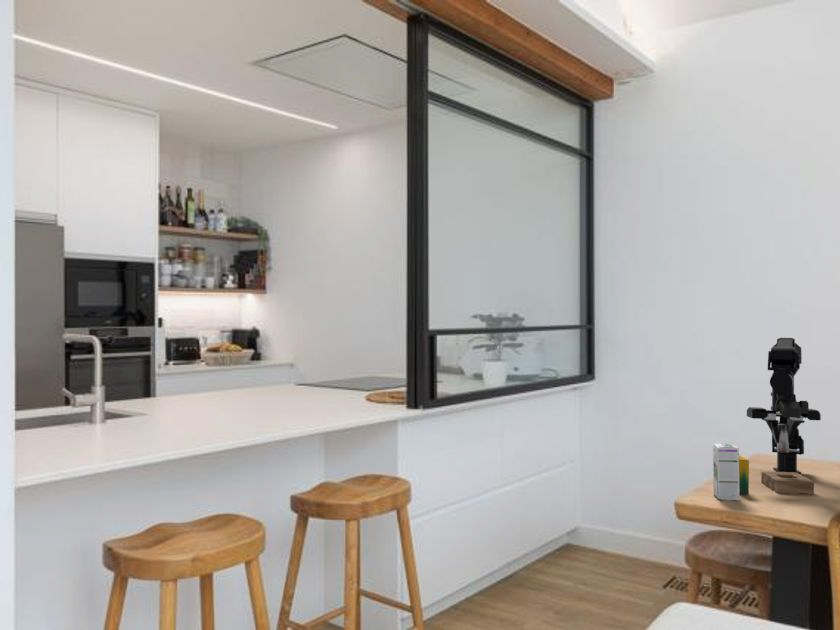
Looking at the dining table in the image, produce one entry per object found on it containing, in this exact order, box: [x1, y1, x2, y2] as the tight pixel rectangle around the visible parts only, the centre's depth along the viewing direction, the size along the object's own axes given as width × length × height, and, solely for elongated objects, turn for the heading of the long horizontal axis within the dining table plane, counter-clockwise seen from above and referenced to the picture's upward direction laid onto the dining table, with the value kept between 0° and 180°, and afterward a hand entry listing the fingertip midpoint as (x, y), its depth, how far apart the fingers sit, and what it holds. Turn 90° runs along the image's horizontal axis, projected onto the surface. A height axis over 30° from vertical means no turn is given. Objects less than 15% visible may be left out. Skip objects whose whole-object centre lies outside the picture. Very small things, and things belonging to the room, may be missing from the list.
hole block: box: [760, 470, 815, 495], centre depth 203 cm, size 12×10×4 cm
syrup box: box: [712, 443, 740, 502], centre depth 192 cm, size 6×6×14 cm
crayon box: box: [739, 455, 750, 495], centre depth 199 cm, size 7×3×12 cm, turn 173°
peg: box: [776, 424, 790, 453], centre depth 205 cm, size 3×3×8 cm
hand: (782, 443), depth 205 cm, fingers closed on peg, 3 cm apart
